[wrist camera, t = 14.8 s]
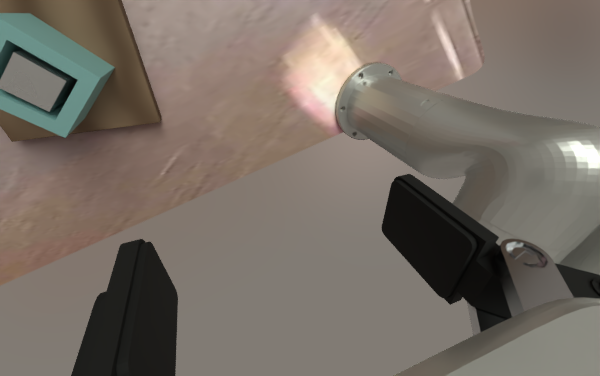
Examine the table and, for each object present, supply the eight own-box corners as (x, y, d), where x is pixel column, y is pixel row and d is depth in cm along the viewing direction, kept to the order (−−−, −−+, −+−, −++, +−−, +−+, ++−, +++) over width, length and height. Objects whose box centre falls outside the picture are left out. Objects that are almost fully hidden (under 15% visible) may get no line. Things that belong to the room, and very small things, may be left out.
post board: (119, -7, 26) (97, -14, 20) (161, 117, 33) (155, 140, 27) (-77, -6, 22) (-182, -15, 16) (21, 134, 29) (-24, 167, 23)
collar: (30, 13, 23) (-10, 12, 19) (114, 67, 27) (100, 78, 23) (0, 76, 25) (-44, 90, 20) (84, 118, 29) (65, 137, 24)
